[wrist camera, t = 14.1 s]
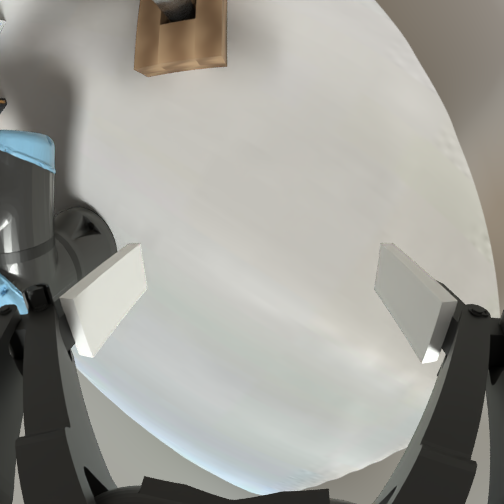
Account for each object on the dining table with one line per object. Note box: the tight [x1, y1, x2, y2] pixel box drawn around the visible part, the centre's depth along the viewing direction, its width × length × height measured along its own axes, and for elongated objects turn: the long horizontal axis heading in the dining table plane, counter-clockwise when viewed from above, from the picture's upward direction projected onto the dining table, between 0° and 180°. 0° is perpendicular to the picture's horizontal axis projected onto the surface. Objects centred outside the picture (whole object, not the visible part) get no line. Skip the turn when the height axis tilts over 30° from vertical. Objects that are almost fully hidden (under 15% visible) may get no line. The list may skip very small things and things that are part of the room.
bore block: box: [134, 0, 227, 77], centre depth 29 cm, size 12×18×5 cm, turn 1°
